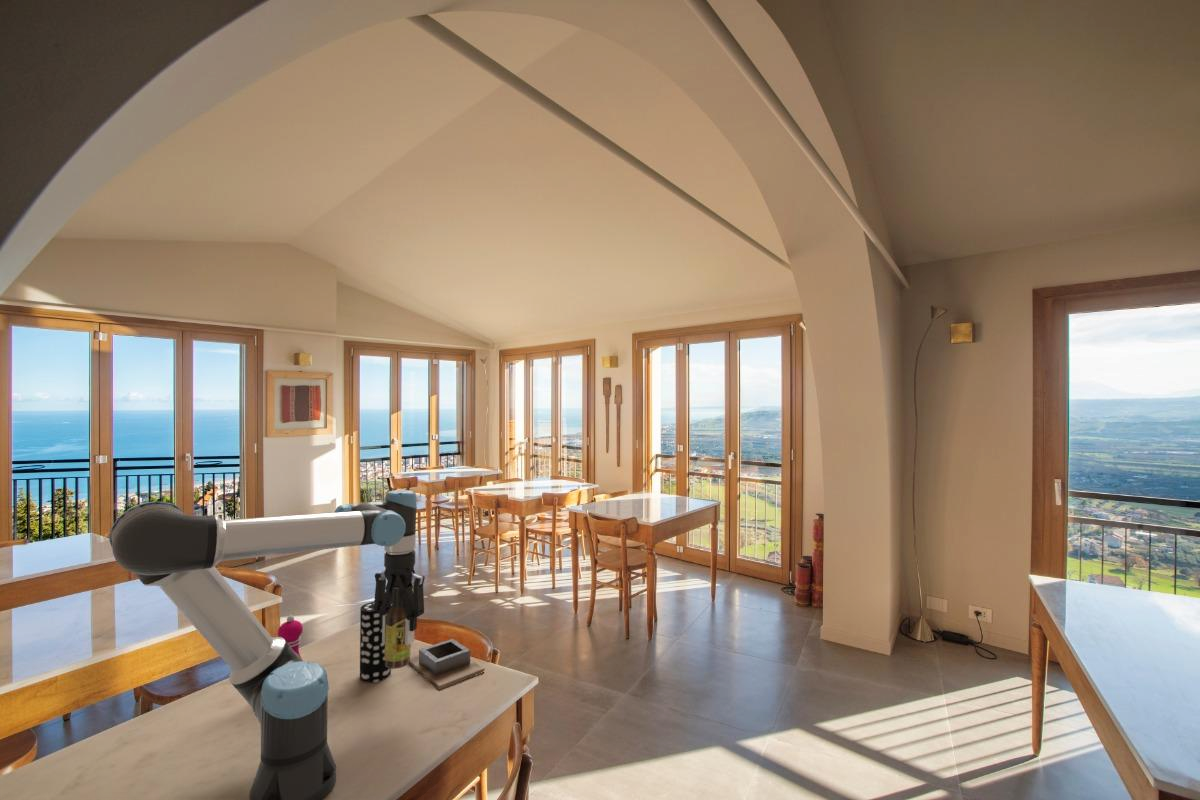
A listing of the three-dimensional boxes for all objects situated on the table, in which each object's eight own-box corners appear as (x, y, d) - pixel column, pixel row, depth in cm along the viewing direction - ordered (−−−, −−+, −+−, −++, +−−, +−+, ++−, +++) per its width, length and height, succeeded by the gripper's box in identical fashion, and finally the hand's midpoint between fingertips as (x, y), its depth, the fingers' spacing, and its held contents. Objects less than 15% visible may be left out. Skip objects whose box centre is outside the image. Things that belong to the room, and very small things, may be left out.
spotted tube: (359, 671, 153) (360, 603, 154) (390, 666, 157) (390, 599, 157) (359, 685, 146) (360, 613, 146) (391, 678, 149) (392, 608, 150)
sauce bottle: (397, 672, 130) (399, 591, 130) (378, 667, 132) (380, 588, 133) (416, 661, 136) (417, 584, 136) (397, 656, 138) (399, 581, 139)
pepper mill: (290, 696, 140) (291, 621, 140) (267, 693, 142) (268, 619, 142) (310, 683, 147) (311, 611, 148) (288, 680, 149) (289, 609, 149)
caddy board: (484, 672, 153) (484, 668, 153) (439, 689, 144) (439, 685, 144) (448, 647, 169) (448, 644, 169) (406, 661, 160) (406, 658, 160)
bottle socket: (470, 663, 156) (470, 650, 156) (435, 676, 149) (435, 662, 149) (452, 651, 164) (452, 638, 164) (418, 663, 157) (419, 649, 157)
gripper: (440, 550, 136) (439, 640, 135) (379, 544, 141) (377, 630, 141) (422, 557, 128) (421, 652, 128) (359, 551, 134) (356, 642, 133)
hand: (398, 641), depth 134 cm, fingers closed on sauce bottle, 6 cm apart
